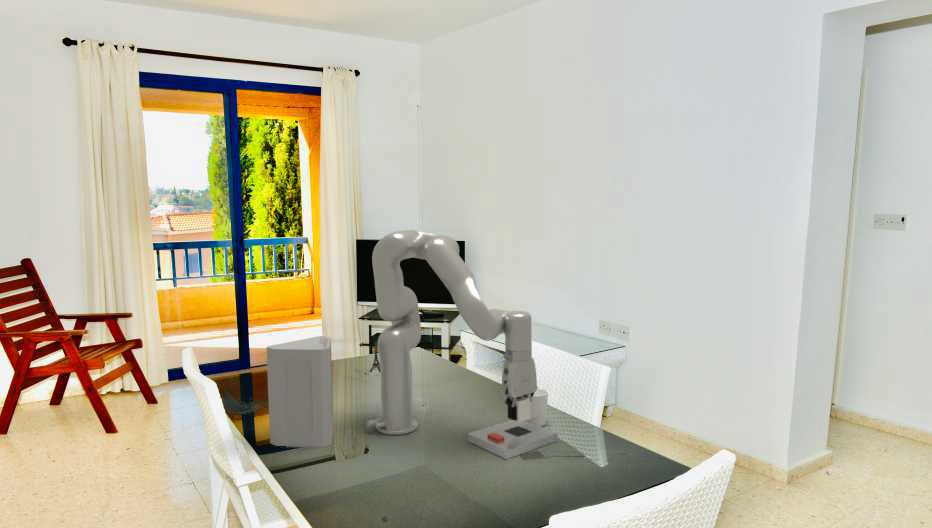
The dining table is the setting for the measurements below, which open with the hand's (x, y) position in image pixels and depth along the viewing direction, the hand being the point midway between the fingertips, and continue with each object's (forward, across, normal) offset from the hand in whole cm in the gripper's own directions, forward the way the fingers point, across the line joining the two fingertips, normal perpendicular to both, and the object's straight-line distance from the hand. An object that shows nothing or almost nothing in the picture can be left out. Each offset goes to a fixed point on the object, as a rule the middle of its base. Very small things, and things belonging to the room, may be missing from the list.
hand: (518, 416), depth 173 cm
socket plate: (+7, -2, 0) cm, 7 cm away
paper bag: (+6, -46, +38) cm, 60 cm away
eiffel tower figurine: (+7, +4, +89) cm, 90 cm away
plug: (+1, 0, 0) cm, 1 cm away
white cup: (+7, +13, +6) cm, 16 cm away
